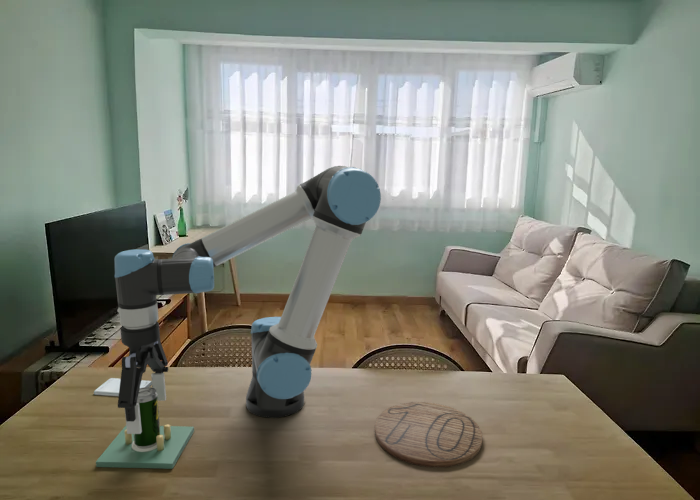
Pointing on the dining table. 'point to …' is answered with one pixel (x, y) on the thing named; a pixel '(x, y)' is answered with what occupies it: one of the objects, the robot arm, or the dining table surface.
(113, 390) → the hard drive
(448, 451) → the trivet
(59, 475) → the dining table surface
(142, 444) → the beer can
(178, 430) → the board
